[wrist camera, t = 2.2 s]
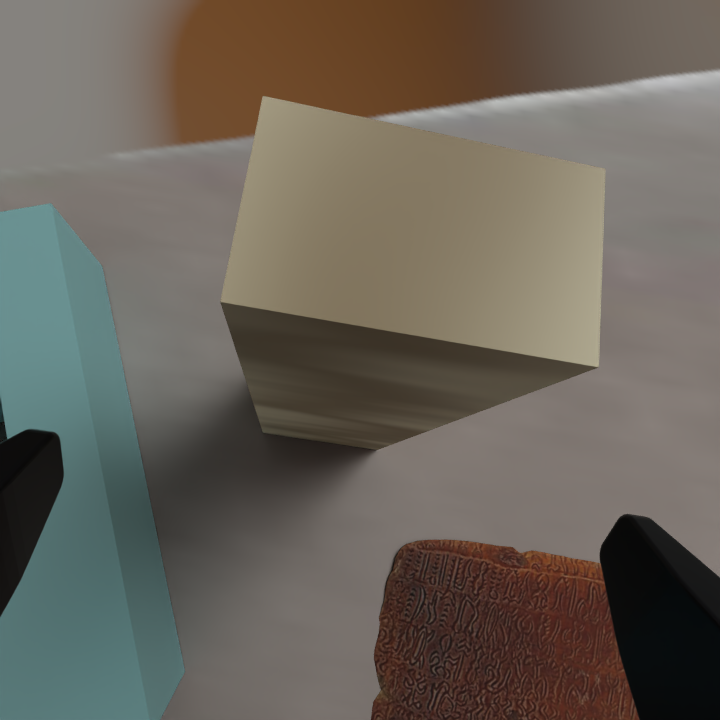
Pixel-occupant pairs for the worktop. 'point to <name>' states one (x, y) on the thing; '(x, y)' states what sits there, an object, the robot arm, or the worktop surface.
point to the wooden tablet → (497, 637)
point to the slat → (405, 275)
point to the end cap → (78, 496)
